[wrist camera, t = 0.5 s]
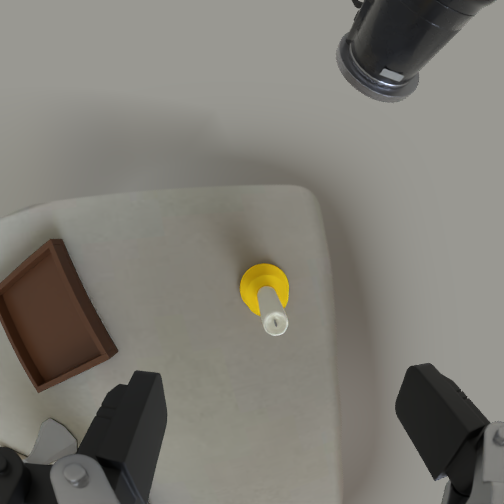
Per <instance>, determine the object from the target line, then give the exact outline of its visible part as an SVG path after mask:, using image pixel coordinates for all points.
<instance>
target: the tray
mask: <svg viewBox="0 0 504 504" xmlns="http://www.w3.org/2000/svg"><path fill="white" fill-rule="evenodd" d="M0 321H1V323H2V326H3V328H4V330H5V332H6V335H7V337H8V339H9V341H10V343H11V345H12V347H13V349H14V351H15V353H16V355H17V357H18V359H19V361H20V363H21V364H22V366H23V368H24V370H25V372H26V373H27V375H28V377H29V379H30V380H31V382H32V384H33V385H34V387H35V389H36V390H37V392H38V393H39V392H41V391H43V390H46V389H48V388H50V387H52V386H54V385H56V384H58V383H61V382H63V381H65V380H67V379H69V378H71V377H73V376H75V375H77V374H79V373H82V372H84V371H86V370H88V369H90V368H92V367H94V366H96V365H98V364H100V363H102V362H104V361H106V360H108V359H110V358H111V357H112V356H114V355H115V354H116V353H117V352H118V350H117V348H116V347H115V345H114V343H113V342H112V340H111V338H110V336H109V335H108V333H107V331H106V329H105V328H104V326H103V324H102V322H101V320H100V319H99V317H98V315H97V313H96V311H95V309H94V307H93V305H92V303H91V301H90V299H89V297H88V295H87V293H86V291H85V289H84V287H83V285H82V283H81V281H80V279H79V277H78V275H77V272H76V270H75V268H74V266H73V264H72V261H71V259H70V257H69V254H68V252H67V250H66V247H65V245H64V242H63V240H62V239H50V240H49V241H47V242H46V243H45V244H44V245H43V246H41V247H40V248H39V249H38V250H37V251H35V252H34V253H33V254H32V255H31V256H30V257H29V258H27V259H26V260H25V261H24V262H23V263H22V264H21V265H20V266H18V267H17V268H16V269H15V270H14V271H13V272H12V273H11V274H10V275H9V276H8V277H7V278H5V279H4V280H3V281H2V282H1V283H0Z"/></svg>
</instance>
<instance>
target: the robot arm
mask: <svg viewBox="0 0 504 504" xmlns="http://www.w3.org/2000/svg"><path fill="white" fill-rule="evenodd" d="M495 1H496V0H364V2H360V1H358V0H352V2H353V3H354V5H355V7H357V8H361V9H360V10H359V11H358V12H357V14H356V16H355V18H354V23H353V25H352V28H351V30H350V32H349V34H348V36H347V38H346V40H345V41H346V43H347V44H348V45H349V56H350V59H351V61H352V63H353V65H354V66H355V68H356V69H357V70H358V71H359V72H360V73H361V74H362V75H363V76H364V77H365V78H367V79H368V80H370V81H371V82H373V83H375V84H377V85H379V86H382V87H385V88H391V89H397V88H402V87H404V86H406V85H407V84H408V83H409V82H410V81H411V80H412V78H413V77H414V76H415V75H416V74H417V73H418V72H419V71H420V70H421V69H422V68H423V67H424V66H425V65H426V64H427V63H428V62H429V61H430V60H431V59H432V58H433V57H434V56H435V54H437V53H438V52H439V51H440V50H441V49H442V48H443V47H444V46H445V45H446V44H447V43H448V42H449V41H450V40H451V39H452V38H453V37H454V36H455V35H456V34H457V33H458V32H459V31H460V30H461V29H462V28H463V27H464V26H465V25H466V24H467V23H468V22H469V21H470V20H471V19H472V18H473V17H474V16H475V15H476V14H477V13H478V12H479V11H480V10H481V9H482V8H484V7H486V6H488V5H490V4H492V3H494V2H495ZM101 405H102V406H101V407H100V408H99V410H98V412H97V414H96V416H95V417H94V419H93V421H92V423H91V425H90V427H89V429H88V431H87V433H86V435H85V436H84V438H83V440H82V442H81V444H80V446H79V448H78V450H77V452H76V453H75V454H70V455H66V456H64V457H62V458H60V459H58V460H57V461H56V462H55V463H54V465H43V464H33V463H24V462H23V461H22V459H21V458H20V456H19V455H18V454H17V453H16V452H15V451H14V450H12V449H10V448H7V447H0V504H147V502H148V498H149V493H150V489H151V485H152V481H153V476H154V472H155V468H156V464H157V460H158V456H159V452H160V448H161V444H162V440H163V437H164V433H165V429H166V424H167V407H166V401H165V396H164V390H163V384H162V378H161V375H160V373H155V372H146V371H137V370H136V371H135V372H134V374H133V376H132V378H131V380H130V382H129V384H128V385H123V384H119V385H117V386H116V387H115V388H113V389H112V390H111V391H110V392H108V393H107V395H106V397H105V399H104V401H103V402H102V404H101ZM395 410H396V414H397V417H398V418H399V420H400V422H401V423H402V425H403V427H404V429H405V430H406V432H407V434H408V435H409V437H410V439H411V440H412V442H413V444H414V446H415V447H416V449H417V451H418V452H419V454H420V456H421V458H422V459H423V461H424V463H425V465H426V466H427V468H428V470H429V472H430V473H431V475H432V477H433V479H434V480H435V481H436V480H439V479H441V478H444V477H446V476H448V477H449V479H450V480H449V481H448V482H447V484H446V486H445V490H444V495H443V499H442V503H441V504H504V422H493V423H490V422H489V421H488V420H487V418H486V417H485V416H484V415H483V414H482V413H481V412H480V410H479V409H478V408H477V407H476V406H475V405H474V404H473V402H471V400H470V399H467V396H466V395H465V394H464V392H463V391H462V392H461V389H459V387H458V386H457V385H456V384H455V383H454V382H453V381H452V380H450V379H449V378H447V377H445V376H444V375H442V374H440V373H439V371H438V370H437V369H436V368H435V367H434V366H433V365H432V364H430V363H426V364H420V365H414V366H410V367H409V368H408V369H407V371H406V374H405V377H404V380H403V383H402V386H401V388H400V391H399V394H398V397H397V399H396V405H395Z"/></svg>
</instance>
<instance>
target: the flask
mask: <svg viewBox="0 0 504 504" xmlns="http://www.w3.org/2000/svg"><path fill="white" fill-rule="evenodd" d="M76 452H77V440H76V439H75V438H74V437H73V436H72V435H71V434H70V433H69V431H68V430H67V429H66V428H65V427H64V426H63V425H61V424H59V423H57V422H56V421H54V420H52V419H51V418H49V419H48V420H46V421H44V422H43V423H42V425H41V428H40V431H39V434H38V437H37V440H36V442H35V445H34V448H33V450H32V452H31V453H30V455H29V456H28V457H27V458H25V459H23V460H22V461H23V462H24V463H33V464H43V465H48V464H50V463H52V462H54V461H57V460H58V459H60V458H62V457H64V456H66V455H70V454H74V453H76Z"/></svg>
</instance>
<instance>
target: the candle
mask: <svg viewBox="0 0 504 504" xmlns="http://www.w3.org/2000/svg"><path fill="white" fill-rule="evenodd" d="M288 292H289V283H288V280H287V277H286V275H285V274H284V273H283V271H282V270H281V269H279V268H278V267H277V266H274V265H272V264H266V263H262V264H257V265H255V266H252V267H251V268H250V269H248V270H247V271H246V272H245V274H244V275H243V277H242V279H241V282H240V294H241V297H242V299H243V301H244V302H245V303H246V305H247V306H248V307H249V308H250V310H251V311H252V312H254V313H255V314H256V315H259V316H261V320H262V323H263V327H264V329H265V331H266V332H267V333H268V334H270V335H273V336H278V335H281V334H283V333H284V332H285V331H286V330H287V327H288V319H287V316H286V313H285V310H284V308H285V306H286V304H287V302H288V296H289V295H288Z"/></svg>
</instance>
